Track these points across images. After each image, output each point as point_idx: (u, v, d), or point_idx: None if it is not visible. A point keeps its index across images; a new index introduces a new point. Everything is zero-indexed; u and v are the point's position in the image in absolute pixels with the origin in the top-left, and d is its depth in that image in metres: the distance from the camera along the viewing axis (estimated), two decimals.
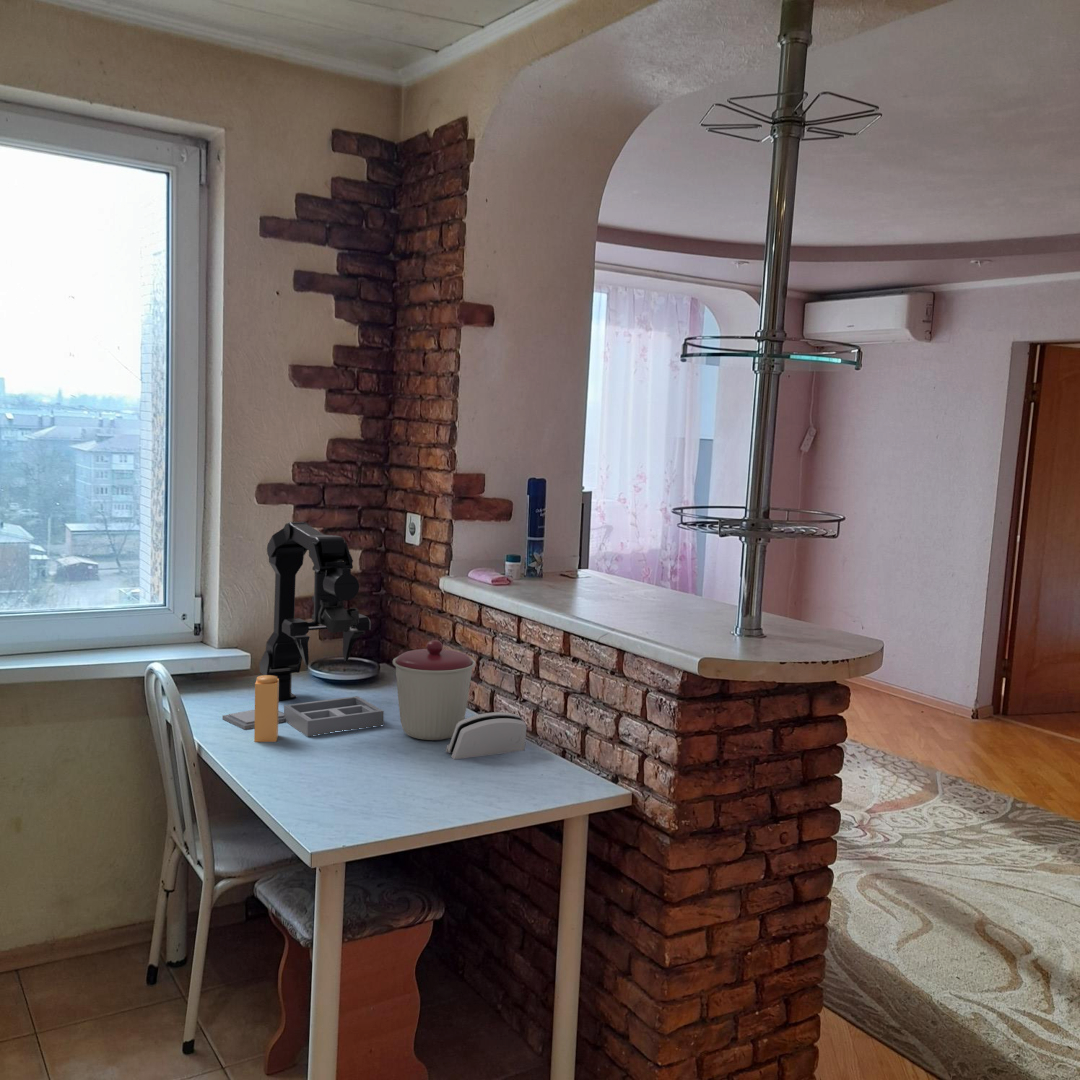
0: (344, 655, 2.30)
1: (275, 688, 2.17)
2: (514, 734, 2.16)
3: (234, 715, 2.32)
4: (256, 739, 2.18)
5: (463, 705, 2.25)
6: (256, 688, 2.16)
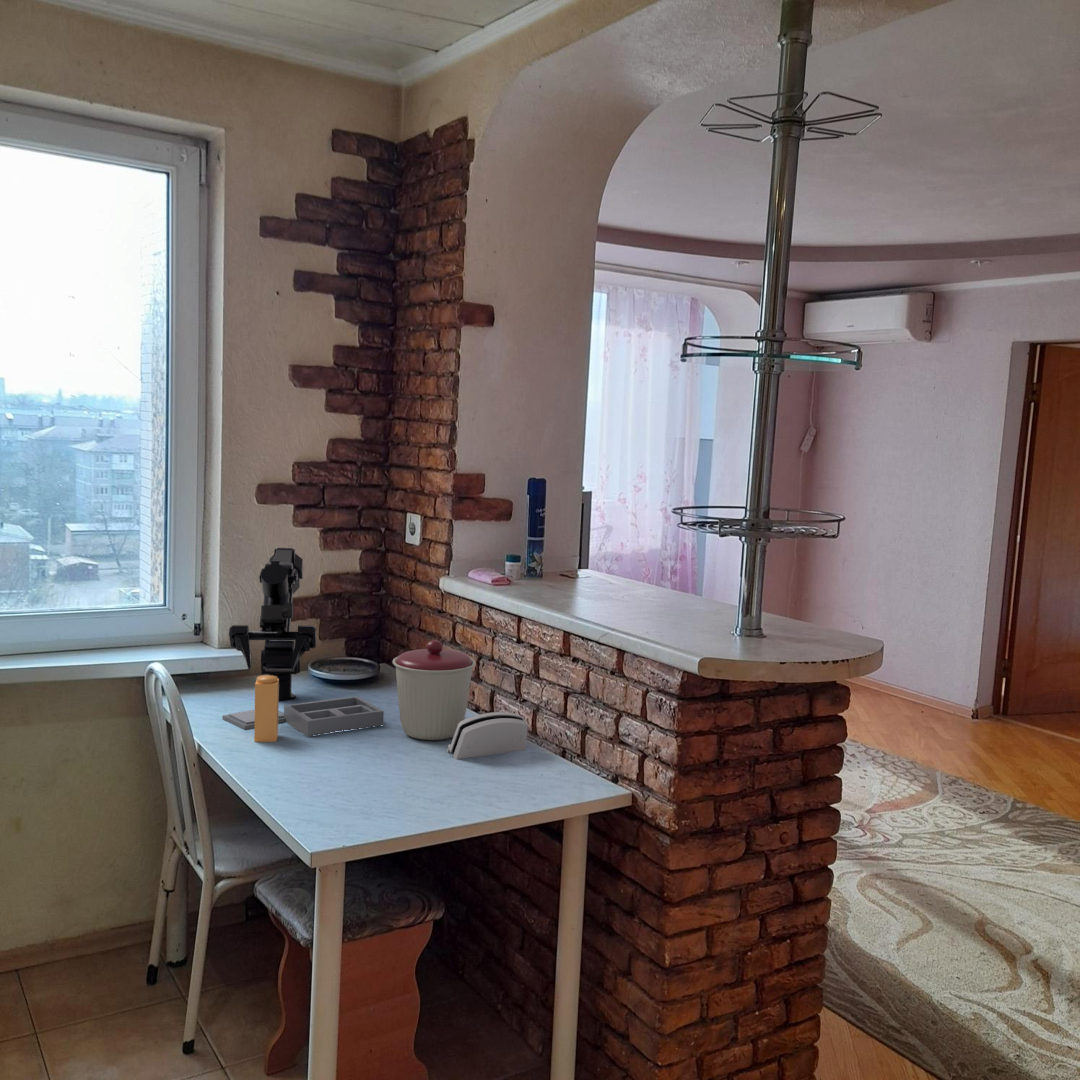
0: None
1: (275, 688, 2.17)
2: (515, 734, 2.16)
3: (234, 715, 2.32)
4: (256, 739, 2.18)
5: (463, 705, 2.25)
6: (256, 688, 2.16)
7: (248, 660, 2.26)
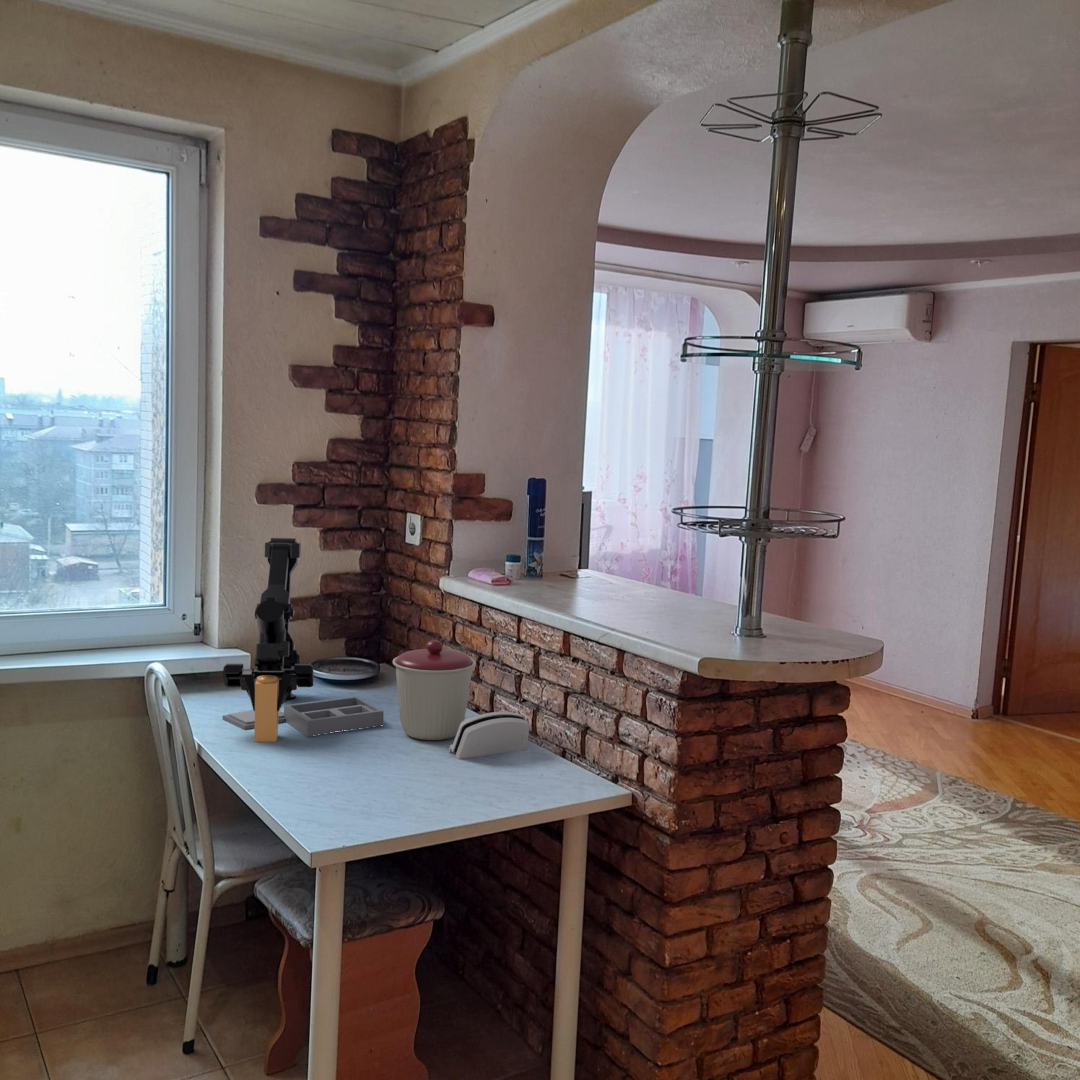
0: None
1: (275, 688, 2.17)
2: (517, 733, 2.17)
3: (234, 715, 2.32)
4: (256, 739, 2.18)
5: (463, 705, 2.25)
6: (256, 688, 2.16)
7: (253, 701, 2.18)
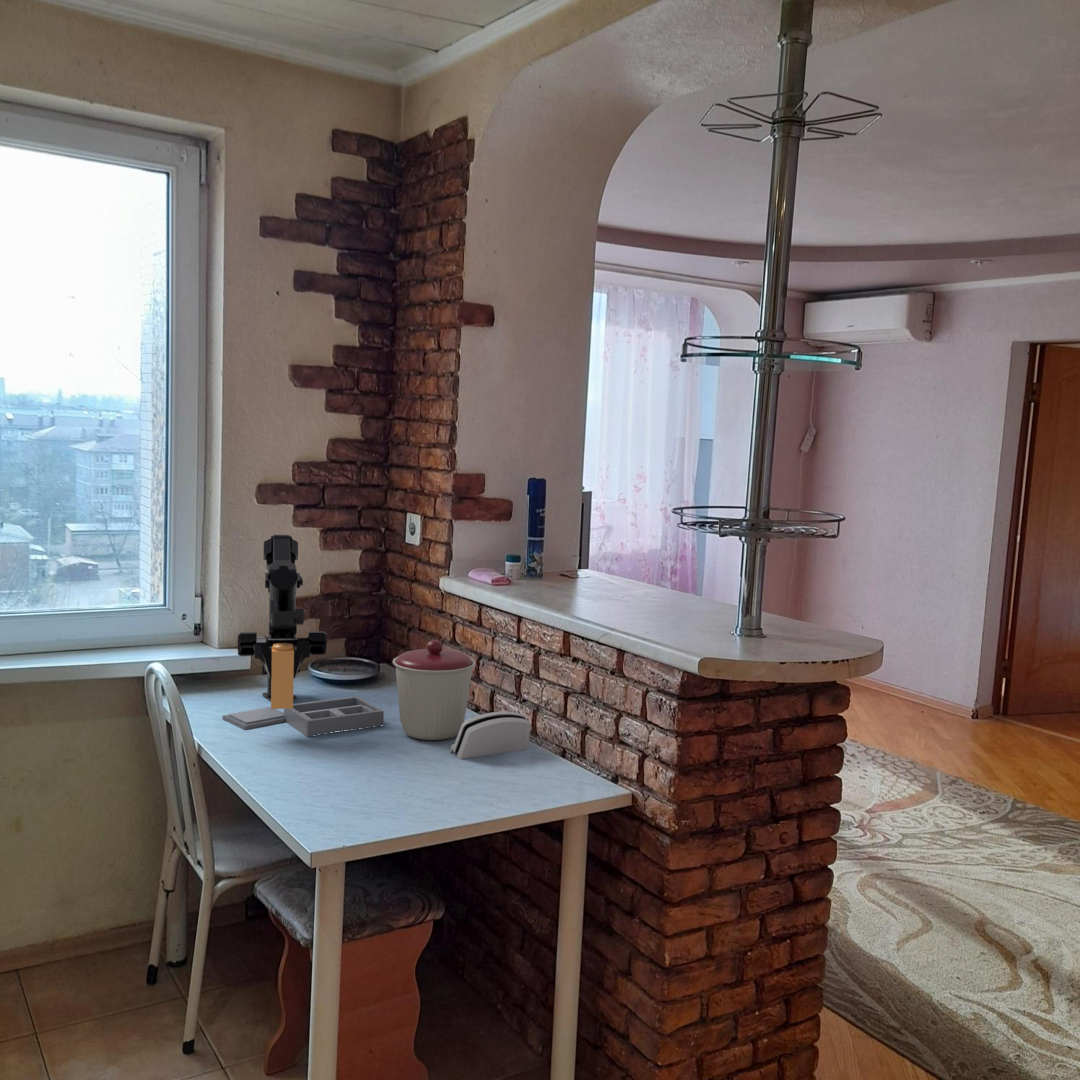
0: None
1: (292, 655, 2.18)
2: (518, 733, 2.17)
3: (234, 715, 2.32)
4: (273, 706, 2.19)
5: (463, 705, 2.25)
6: (273, 655, 2.17)
7: (270, 668, 2.19)
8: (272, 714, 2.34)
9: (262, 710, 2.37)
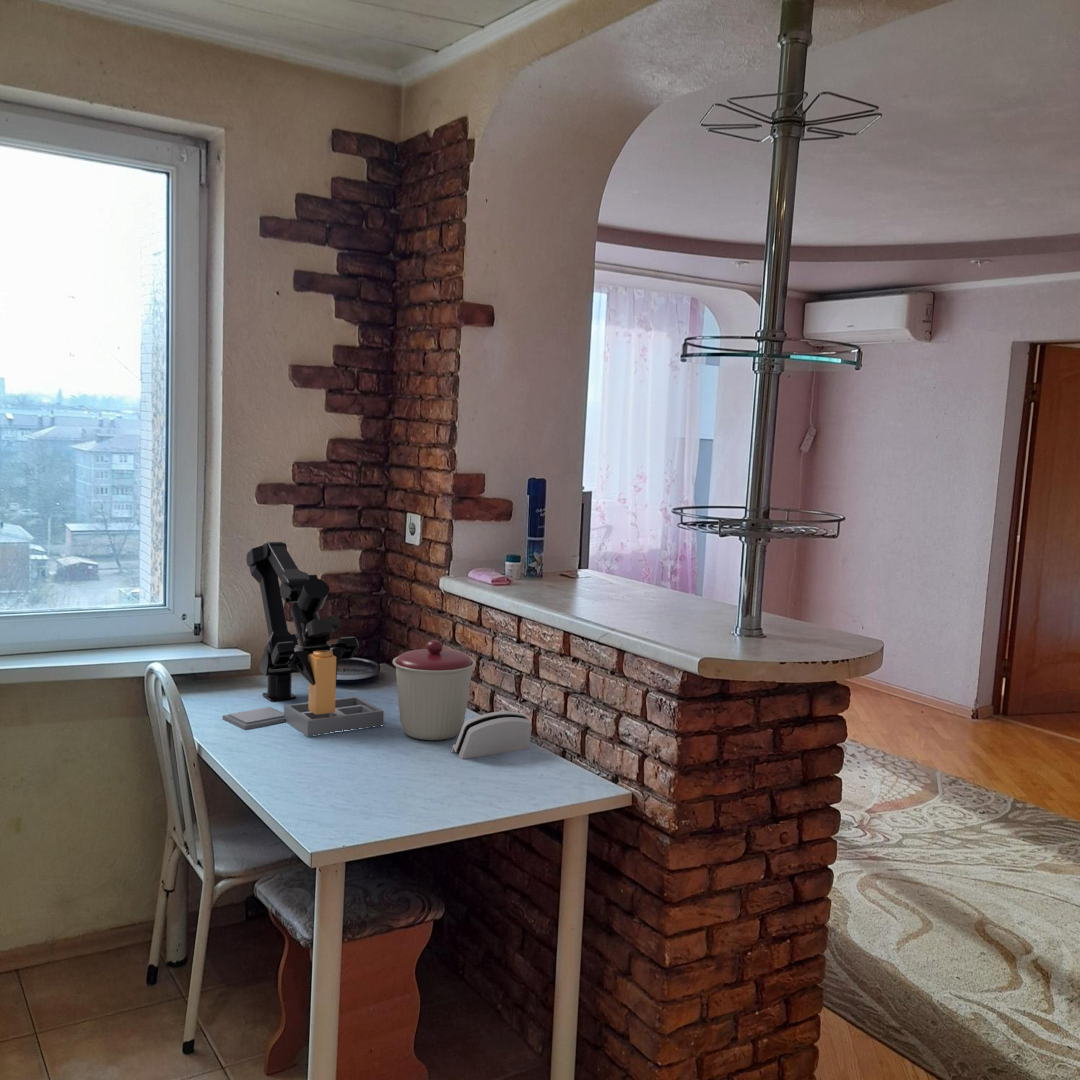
0: None
1: (334, 661, 2.26)
2: (519, 733, 2.17)
3: (234, 715, 2.32)
4: (317, 712, 2.25)
5: (463, 705, 2.25)
6: (317, 662, 2.24)
7: (312, 675, 2.25)
8: (272, 714, 2.34)
9: (262, 710, 2.37)
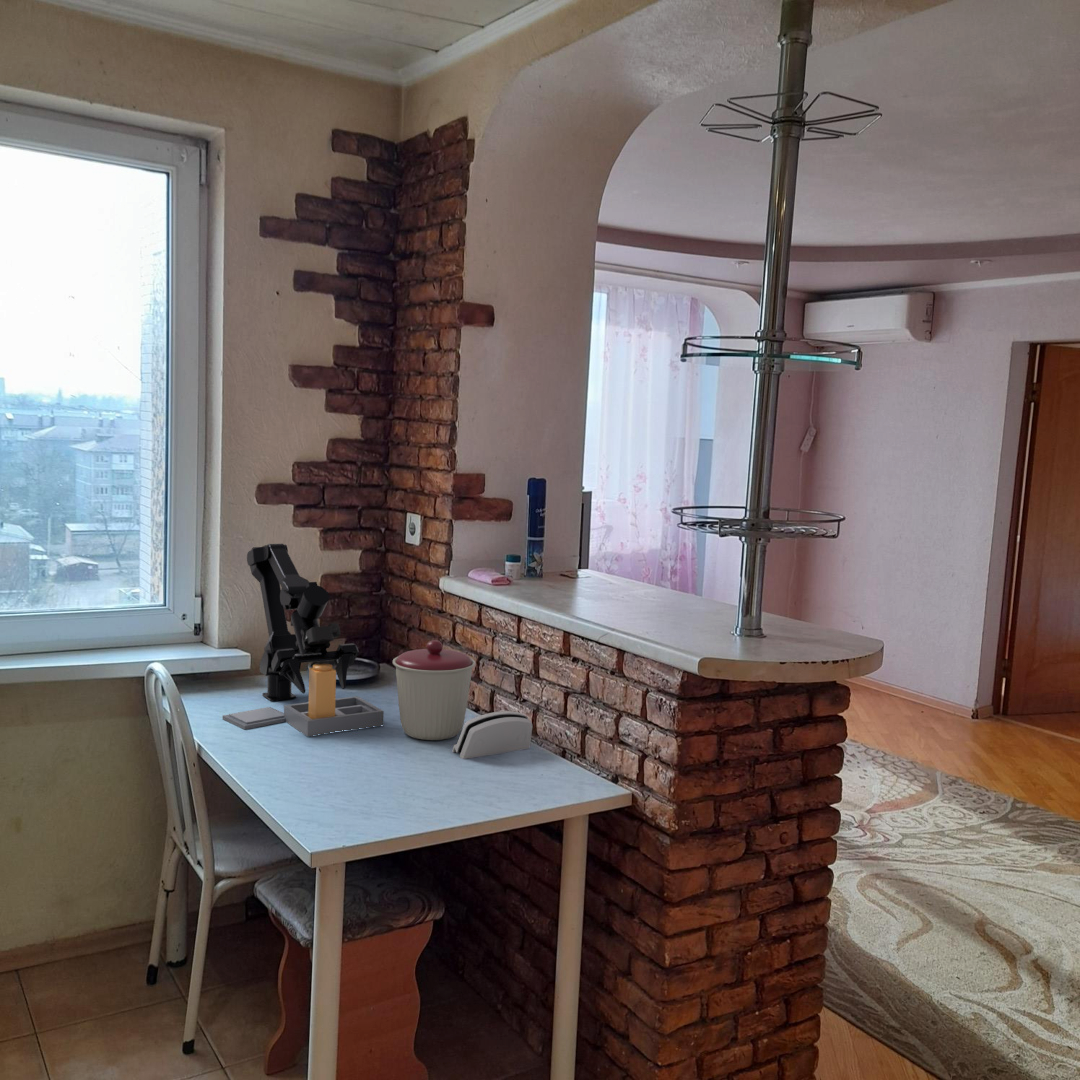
0: (341, 683, 2.30)
1: (334, 675, 2.26)
2: (520, 732, 2.17)
3: (234, 715, 2.32)
4: None
5: (463, 705, 2.25)
6: (317, 676, 2.24)
7: (302, 683, 2.24)
8: (272, 714, 2.34)
9: (262, 710, 2.37)
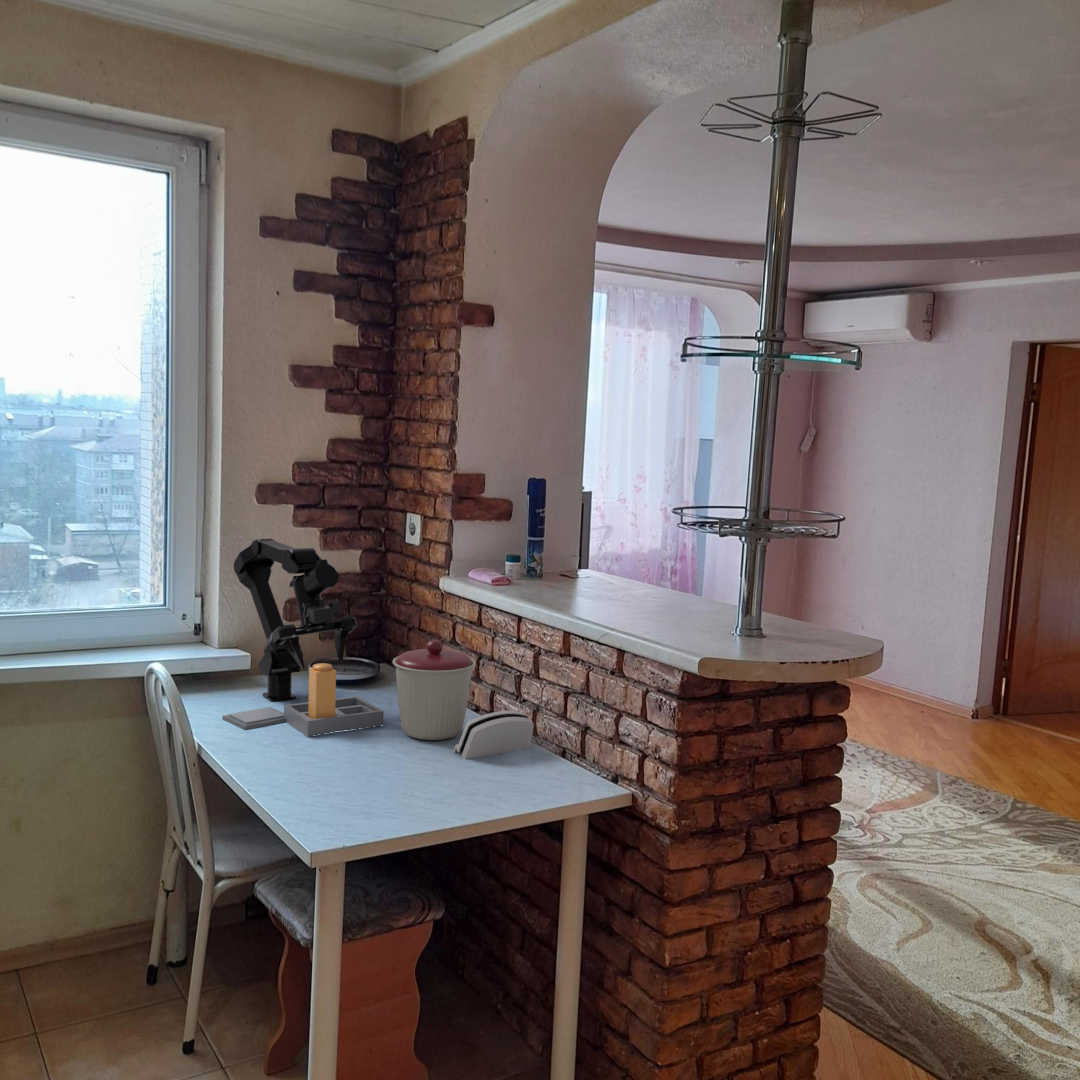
0: (339, 657, 2.39)
1: (334, 675, 2.26)
2: (522, 732, 2.18)
3: (234, 715, 2.32)
4: None
5: (463, 705, 2.25)
6: (317, 676, 2.24)
7: (301, 660, 2.33)
8: (272, 714, 2.34)
9: (262, 710, 2.37)
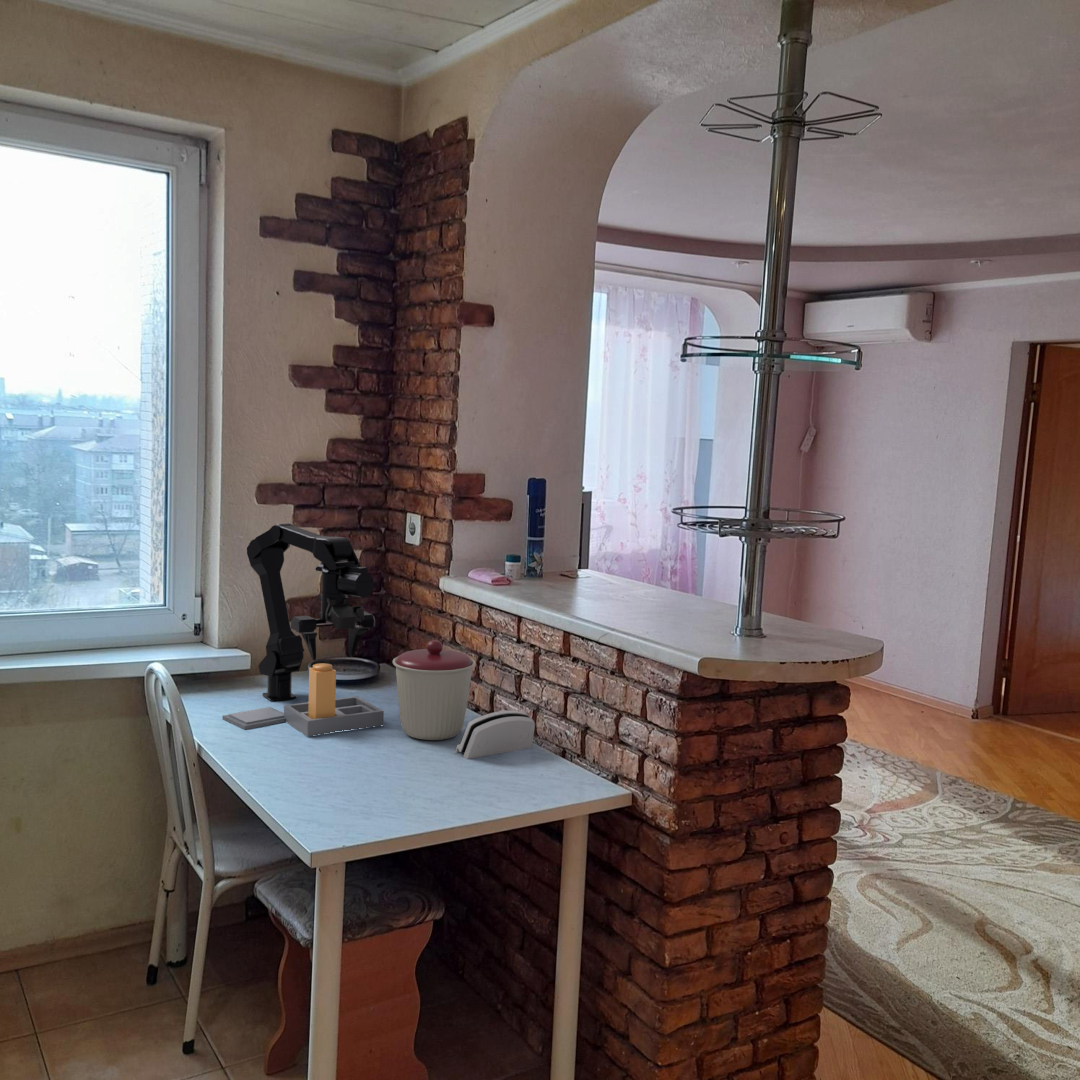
0: (350, 651, 2.42)
1: (334, 675, 2.26)
2: (523, 732, 2.18)
3: (234, 715, 2.32)
4: None
5: (463, 705, 2.25)
6: (317, 676, 2.24)
7: (314, 653, 2.36)
8: (272, 714, 2.34)
9: (262, 710, 2.37)
